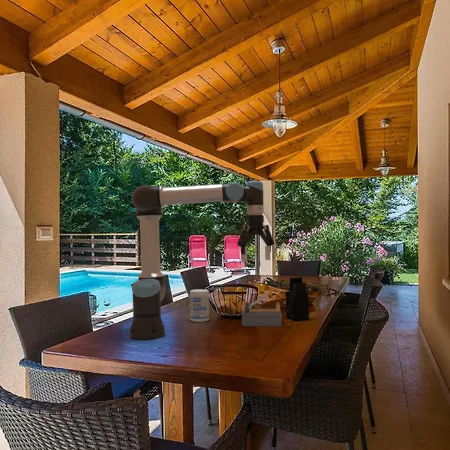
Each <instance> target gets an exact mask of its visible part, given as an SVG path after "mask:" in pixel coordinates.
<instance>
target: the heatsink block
mask: <svg viewBox="0 0 450 450" xmlns="http://www.w3.org/2000/svg"><path fill="white" fill-rule="evenodd" d="M249 305H250V302H245V304H244V309H243V312H242V316H241V326H242V327H282V326H283V325H282V324H283V322H282V321H283V320H282V312H281V308H280V307H281V303H280V302H276V305H275V307H274V308H272V307H269V308H262V307H261V308H253V307H250V308H249V309H248V306H249Z"/></svg>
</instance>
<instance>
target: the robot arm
mask: <svg viewBox="0 0 450 450" xmlns="http://www.w3.org/2000/svg"><path fill="white" fill-rule="evenodd" d="M263 183H264V182H262V181H261V180H250V181H247V182H246V185H242V184H241V183H240V182H233V181H232V182H229V183H228V182H227V183H214V184H199V185H187V186H186V185H184V186H172V187H171V186H170V187H164V186H163V185H146V184H145V185H140V186H138V187H137V188H135V189H134V191H133V192H132V195H131V201H132V205H133V206H134V207H135V216H136V217H135V218H137V219H138V220H139V231H140V232H139V233H140V234H139V235H140V237H139V238H140V261H141V262H140V263H141V266H140V267H141V269H140V270H141V273H140V274H139V275H138V280H136V281H134V282H133V283H132V288H131V292H132V322H131V324H130V327H129V333H128V335H129V338H130V339H133V340H136V341H137V340H139V341H142V340H144V341H145V340H146V341H147V340H155V339H160V338H162V337H164V336H165V335H166V327H165V325H164V322H163V319H162V314H161V313H162V309H161V306H162V305H161V302H162V301H163V300H164V298H165V296H166V293H167V289H166V288H167V287H166V284H165V274H164V273H162V271H161V250H160V249H161V247H160V222H159V221H160V219H161V218H162V216H163V208H164V207H166V206H174V205H175V206H176V205H186V204H187V205H188V204H189V205H190V204H200V203H201V204H203V203H217V202H222V203H228V204H229V203H247V205H246V208H247V210H246V213H247V224H246V225H244V224H243V225H242V229H241V233H240V235H239V238H238V240H237V243H236V245H237V247H239V248H240V254H241V256H242V257H241V259H242V262H243V263H248V247H247V245H248V243H249V242H250V240H251V238H253V236H260V238H261V239H262V241H263V243H264V244H265V245H264V254H265V255H264V258H265V261H271V253H272V246H273V245H275V240H274V238H273V236H272V233H271V231H270V225H269V224H264V222H265V217H264V214H265V212H264V210H265V208H264V206H265V205H264V184H263Z"/></svg>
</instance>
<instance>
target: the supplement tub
mask: <svg viewBox="0 0 450 450" xmlns="http://www.w3.org/2000/svg"><path fill="white" fill-rule="evenodd" d="M189 320H190V321H191V322H193V323H202V322H203V323H204V322H207V321H209V320H210V291H209V290H208V289H203V288H202V289H196V288H195V289H192V290H190V291H189Z"/></svg>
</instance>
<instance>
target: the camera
mask: <svg viewBox="0 0 450 450" xmlns="http://www.w3.org/2000/svg"><path fill="white" fill-rule="evenodd" d="M303 278H304V277H289V289H288V291H285V292H284V296H285V307H284V310H285V313H284V315H285V317H288V318H290V319H291V320H293V321H294V322H295V321H297V322H298V321H306V320H309V319H310V300H309V299H310V298H309V292H308V291H307V287H306V283H305V282H303Z"/></svg>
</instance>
